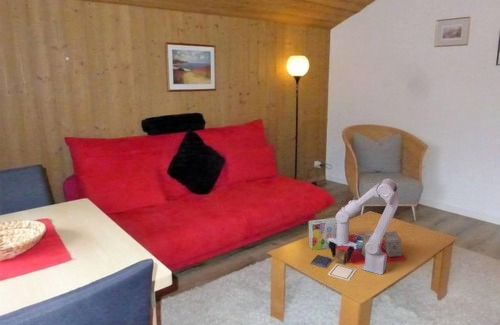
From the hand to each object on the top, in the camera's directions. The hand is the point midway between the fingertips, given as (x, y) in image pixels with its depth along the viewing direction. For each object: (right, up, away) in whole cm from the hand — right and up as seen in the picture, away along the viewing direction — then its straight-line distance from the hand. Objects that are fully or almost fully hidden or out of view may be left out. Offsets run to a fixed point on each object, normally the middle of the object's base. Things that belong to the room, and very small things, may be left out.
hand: (341, 258), depth 183 cm
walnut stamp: (0, -2, 0) cm, 2 cm away
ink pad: (-10, -2, 0) cm, 10 cm away
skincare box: (+16, 0, +6) cm, 16 cm away
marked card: (-2, -4, -10) cm, 11 cm away
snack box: (-3, +2, +17) cm, 17 cm away
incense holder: (+27, +1, +7) cm, 28 cm away
